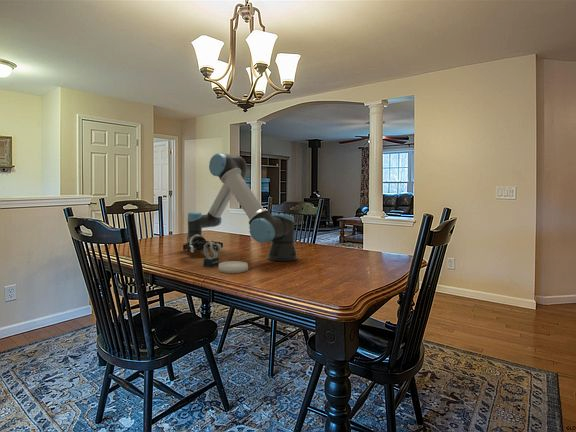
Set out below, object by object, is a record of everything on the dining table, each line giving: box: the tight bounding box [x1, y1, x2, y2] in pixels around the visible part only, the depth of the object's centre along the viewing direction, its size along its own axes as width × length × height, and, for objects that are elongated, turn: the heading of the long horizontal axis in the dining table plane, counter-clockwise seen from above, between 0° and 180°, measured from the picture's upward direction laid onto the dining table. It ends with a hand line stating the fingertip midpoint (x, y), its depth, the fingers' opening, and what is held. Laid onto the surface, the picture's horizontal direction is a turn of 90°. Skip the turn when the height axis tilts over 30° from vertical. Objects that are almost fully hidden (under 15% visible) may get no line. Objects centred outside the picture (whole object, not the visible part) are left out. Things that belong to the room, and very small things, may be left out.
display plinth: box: [218, 260, 249, 274], centre depth 164 cm, size 13×13×2 cm
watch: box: [203, 241, 220, 268], centre depth 171 cm, size 6×8×11 cm
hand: (206, 248), depth 179 cm, fingers open, 13 cm apart
